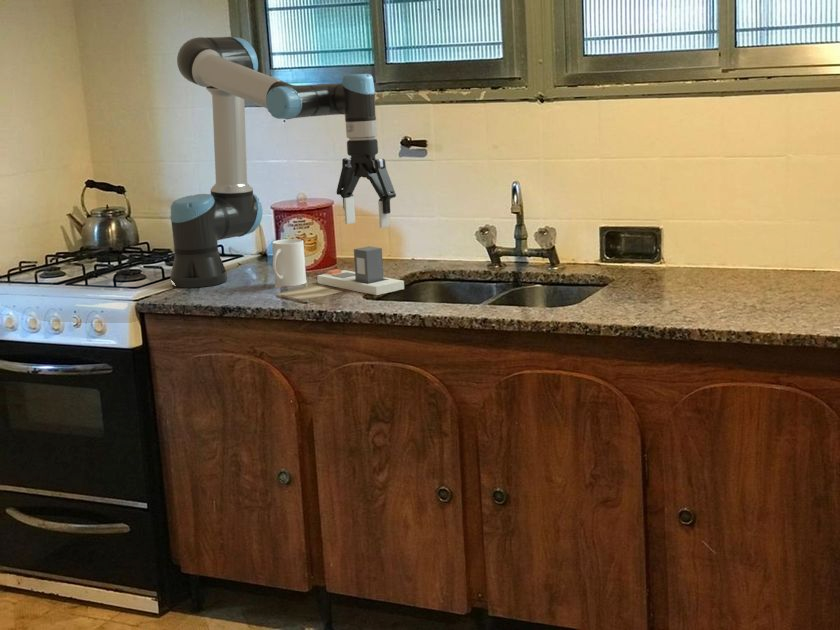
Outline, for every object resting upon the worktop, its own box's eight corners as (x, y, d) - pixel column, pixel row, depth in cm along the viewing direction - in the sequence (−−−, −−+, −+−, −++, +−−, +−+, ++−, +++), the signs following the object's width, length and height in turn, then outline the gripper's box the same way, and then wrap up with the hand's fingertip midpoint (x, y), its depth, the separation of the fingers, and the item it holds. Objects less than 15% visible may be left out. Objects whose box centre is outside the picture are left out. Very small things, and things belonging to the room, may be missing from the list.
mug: (286, 293, 264) (283, 246, 261) (260, 291, 268) (256, 245, 265) (313, 284, 274) (310, 239, 271) (288, 282, 278) (284, 238, 275)
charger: (355, 288, 261) (353, 249, 259) (371, 284, 264) (369, 246, 262) (368, 290, 257) (366, 251, 255) (383, 287, 261) (381, 248, 258)
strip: (304, 284, 274) (303, 269, 273) (331, 278, 280) (330, 264, 279) (376, 298, 252) (375, 283, 252) (404, 292, 258) (403, 277, 257)
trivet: (276, 297, 259) (275, 293, 259) (314, 289, 267) (314, 285, 267) (304, 304, 250) (304, 300, 250) (343, 295, 258) (343, 291, 258)
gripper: (318, 139, 259) (325, 223, 264) (383, 140, 241) (388, 230, 245) (342, 137, 264) (348, 219, 269) (407, 137, 246) (412, 226, 250)
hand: (367, 225), depth 257 cm, fingers open, 13 cm apart
